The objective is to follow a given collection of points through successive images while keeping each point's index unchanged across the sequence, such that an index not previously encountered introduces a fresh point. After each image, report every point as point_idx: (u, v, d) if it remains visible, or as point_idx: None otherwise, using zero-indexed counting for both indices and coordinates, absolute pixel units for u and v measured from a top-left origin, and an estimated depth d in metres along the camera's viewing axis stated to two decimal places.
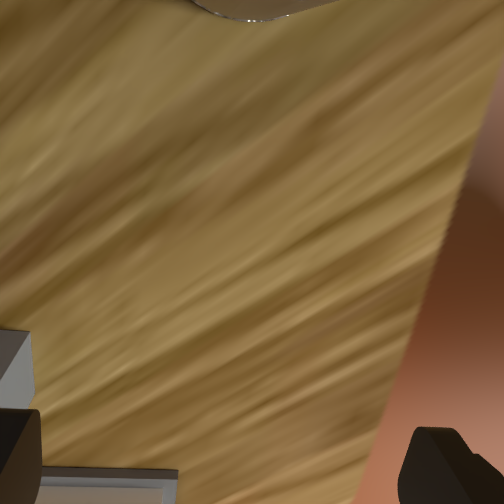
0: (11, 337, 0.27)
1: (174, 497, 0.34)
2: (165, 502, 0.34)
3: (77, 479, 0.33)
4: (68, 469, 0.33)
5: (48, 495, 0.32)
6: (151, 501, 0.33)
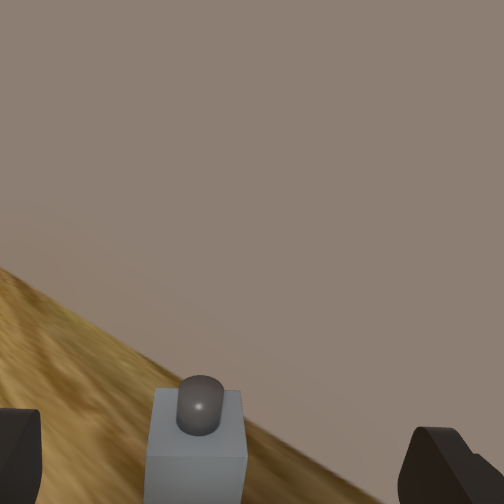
0: None
1: None
2: None
3: None
4: None
5: None
6: None
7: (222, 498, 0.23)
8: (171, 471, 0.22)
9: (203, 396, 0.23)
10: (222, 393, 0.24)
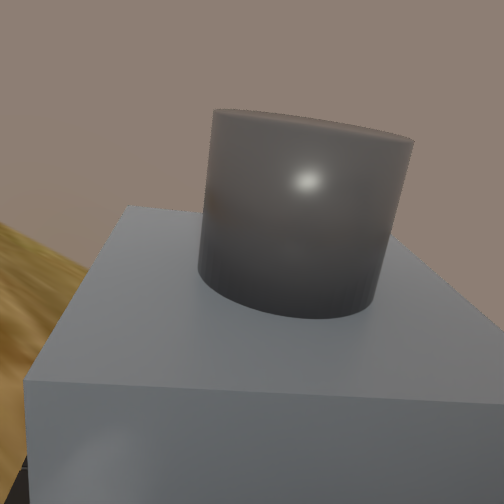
0: None
1: None
2: None
3: None
4: None
5: None
6: None
7: None
8: (178, 478, 0.04)
9: (333, 131, 0.05)
10: (406, 138, 0.05)
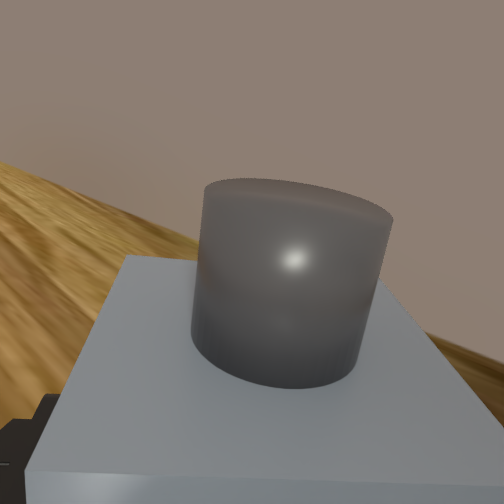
0: None
1: None
2: None
3: None
4: None
5: None
6: None
7: None
8: None
9: (316, 214, 0.05)
10: (386, 215, 0.06)
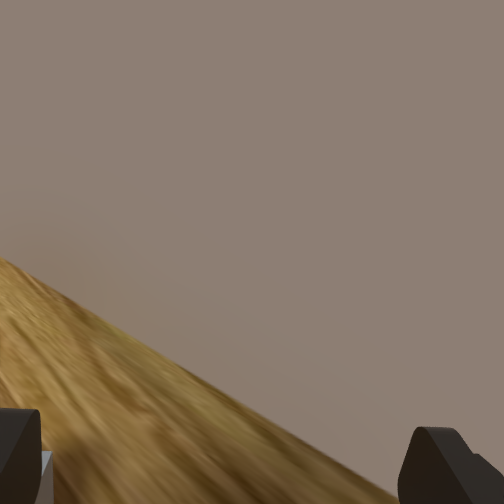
0: None
1: None
2: None
3: None
4: None
5: None
6: None
7: None
8: None
9: None
10: None
